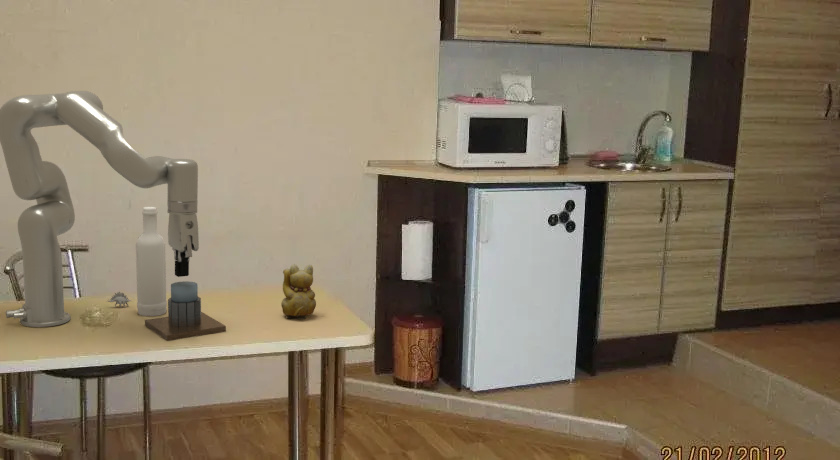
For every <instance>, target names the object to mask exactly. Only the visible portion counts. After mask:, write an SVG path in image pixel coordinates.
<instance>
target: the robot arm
mask: <svg viewBox="0 0 840 460" xmlns="http://www.w3.org/2000/svg"><path fill="white" fill-rule="evenodd" d="M53 126H54V127H57V126H67V127H70V128H71V129H72V130H74V131H75V132H76V133H77V134H78V135H80V136H82V137H83V138H84V139H85V140H87V141H88V142H89V143H91V144H92V145H93V146H94V147H95V148H96V149H97V150H99V152H100V154H101V156H102V157H103V158H104V160H105V161H106V162H107V163H108V165H109V166H110V167H111V168H112V169H113V170H114V171H115V172H117V174H119V175H120V176H121V177H123V178H124V179H125V180H127V181H128V182H129V183H131V184H132V185H134V186H135V187H138V188H141V189H151V188H154V187H157V186H161V185H167V206H166V207H167V208H166V209H167V211H166V212H167V214H169V215H168V222H167V223H168V225H167V226H168V227H167V244H168V245H169V247H170V248H171V250H173V255H174V276H175V277H178V278H181V277H188V276H189V275H190V258H192V257H193V251H194V252H198V251H199V249H200V246H199V244H200V243H199V224H198V223H199V222H198V192H199V191H198V188H199V186H198V180H199V179H198V178H199V166H198V163H197V161H196V160H194V159H190V158H189V159H188V158H170V157H166V156H163V155H153V156H147V157H145V156H144V155H142V154H141V153H140V152H139V151H137V150H136V149H135V148H133V147H132V146H131V145H130V144H129V143H128V142H127V140H126V139H125V136H124V134H123V133H124V132H123V131H124V130H123V126H122V124H121V123H120V122H119V121H118V120H116V119H115V118H113V117H112V116H111V115H109V114H108V113H107V112H106V111H105V110H104V105H103V103H102V100H101V99H100V98H99V97H98V96H97V95H96V94H95V93H93V92H91V91H88V90H77V91H76V90H75V91H73V90H72V91H71V90H70V91H67V92H64V93H47V94H46V93H45V94H44V93H43V94H23V95H18V96H15V97H13V98H10V99H9V100H8V101H6V102H5V103H4V104H2V106H1V107H0V146H1V148H2V152H3V155H4V161H5V164H6V168H7V171H8V174H9V175H8V177H9V179H10V182H11V183H10V184H11V186H12V190H13V192H14V193H15V195H16V196H17V197H18V198H19V199H21V200H24V201H36V204H35V205H31V206H29V207H27V208H25V209H24V210H23V211H22V212H21V213H20V216H19V217H18V220H17V232H18V237H19V241H20V245H21V253H22V267H23V289H24V304H21V306H22V307H19V308H18V309H9V310H5V316H6V317H5V318H6V319H9V318H13V319H19V324H20V325H22V326H25V327H29V328H47V327H53V326H54V327H55V326H59V325H63V324H65V323H68V322H69V321H70V320H71V316H72V315H71V314H70V313H69V312H67V311H65V299H64V298H65V297H64V278H63V277H64V276H63V275H64V274H63V273H64V272H63V257H62V250H61V246H60V243H59V240H58V236H60V235H63V234H65V233H67V232H68V231H70V230H71V229H72V228H73V226H74V223H75V220H76V219H75V218H76V215H75V209H74V205H73V201H72V198H71V193H70V189H69V185H68V182H67V179H66V176H65V174H64V172H63V170H62V169H61V168H60V167H59V166H58V164H55V163H54V162H52V161H47V160H43V159H42V155H41V152H40V148H39V145H38V143H37V140H36V139H35V137H34V136H33V134H32V129H35V128H43V127H44V128H45V127H47V128H48V127H53Z"/></svg>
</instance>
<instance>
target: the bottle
mask: <svg viewBox="0 0 840 460" xmlns="http://www.w3.org/2000/svg"><path fill="white" fill-rule="evenodd" d="M157 215H158V211H157V207H156V206H144V207H142V221H143V222H142V226H143V227H142V229H143V232H142V233H141V235H139V236H138V238H137V239H136V240H137V241H136V244H135V260H136V261H135V262H136V294H137V295H136V298H137V299H136V300H137V301H136V308H137V314H138V315H139V316H143V317H157V316H161V315H165V314H166V313H167V312H168V311H167V310H168V300H167V272H166V271H167V269H166V267H167V266H166V264H167V263H166V262H167V261H166V243H165V240H164V238H163V236H162V235H161V233H159V232H158V218H157V217H158V216H157Z"/></svg>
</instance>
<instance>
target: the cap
mask: <svg viewBox="0 0 840 460" xmlns="http://www.w3.org/2000/svg"><path fill="white" fill-rule="evenodd" d="M198 289H199V288H198V283H197V282H194V281H176V282H173V283H171V284H170V298H171V301H173V302H180V303H185V302H193V301H196V300H197V299H198V297H199V294H198V293H199V292H198Z"/></svg>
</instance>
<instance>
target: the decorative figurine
mask: <svg viewBox="0 0 840 460" xmlns="http://www.w3.org/2000/svg"><path fill="white" fill-rule="evenodd" d="M282 273H283V282H282V292H283V294H284V298H282V300H281V308H282V309H281V310H282V313H283V315H286V316H287V320H305V319H306V317H307V316H309V315H312V314H314V311H315V309H316V306H317V301H316V299H315V297H316V293H315V291H314V290H313V289H312V287H311V286H312V285H313V282H314V275H313V274H314V267H313V265H312V264H308V265H306V266H305V267H304V270H303V269H300V267H299V265H297V264H295V263H292V264H291V266H290V268H285V269H283V271H282Z"/></svg>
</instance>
